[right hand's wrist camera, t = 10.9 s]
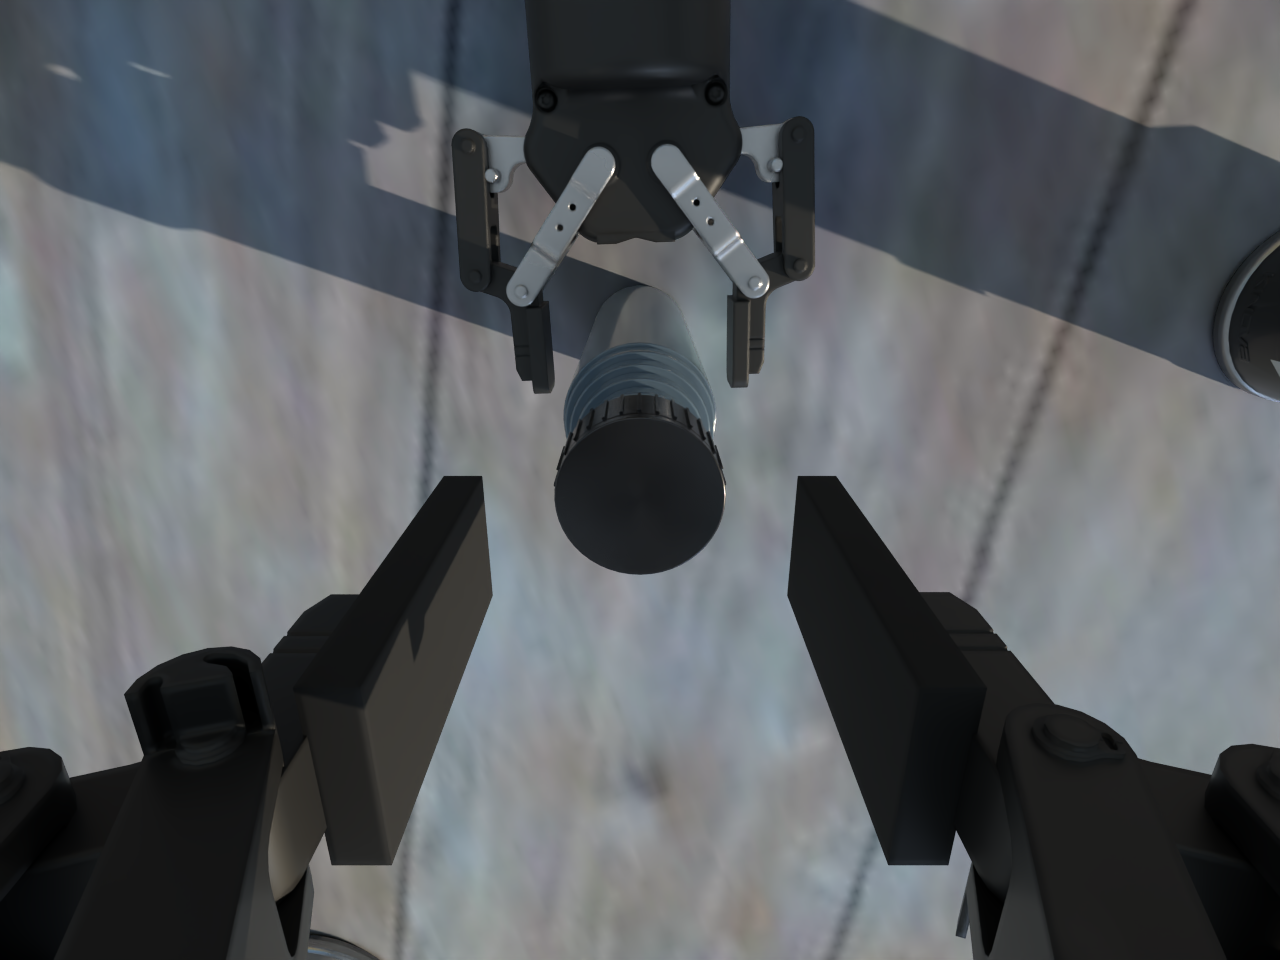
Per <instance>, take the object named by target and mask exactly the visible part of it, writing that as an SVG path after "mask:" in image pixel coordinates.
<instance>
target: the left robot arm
mask: <svg viewBox="0 0 1280 960" xmlns="http://www.w3.org/2000/svg"><path fill="white" fill-rule="evenodd" d="M525 8H526V20H527V33H528V45H529V57H530V70H531V82H532V95H533V114H532V119H531V123H530V126H529V129H528V131H527V133H526V136H501V135H483V134H481V133H479V132H476V131H474V130H472V129H467V128H465V129H461V130H459V131H458V132H456V134H455V135H454V137H453V139H452V157H453V173H454V188H455V203H456V219H457V234H458V249H459V265H460V278H461V281H462V283H463V285H464V286H465V287H466V288H467V289H469V290H471V291H474V292H479V291H480V292H484V293H487V294H490V295H493V296H496V297H498V298H500V299H502V300H503V301H504V302H505V303H506V304H507V305H508V307H509V309H510V312H511V320H512V330H513V340H514V350H515V360H516V370H517V372H518V374H519V376H520V377H521V379H522V381H532V383H533V391H534V393H535V394H541V393H551V391H552V389H553V387H554V383H555V375H554V362H553V350H552V337H551V325H550V313H549V301H543V293H542V291H543V290H544V288H545V287H546V285H547V283H548V282H549V280H550V279H551V277H552V276H553V274H554V272H555V271H556V269H557V268H558V266H559V265H560V263H561V262H562V260H563V259H564V257H565V256H566V254H567V253H568V251H569V250H570V248H571V247H572V245H573V244H574V242H575V240H576V239H577V237H578V236H579V234H581V235H582V236H583V237H585V238H587V239H588V240H591V241H593V242H597V244H617V243H620V242H623V241H626V240H629V239H632V238H641V239H645V240H649V241H653V242H675V240H676V239H679V238H681V237H683V236H684V235H686V234H687V233H689V232H690V231H691V230H692V229H693V231H694V232H695V233H696V235H697V236H698V237H699V239H700V240H701V242H702V243H703V244H704V246H705V247H706V248H707V249H708V251H709V252H710V253H711V254H712V256H713V257H714V258H715V260H716V261H717V262H718V264H719V265H720V266H721V268H722V269H723V270H724V272H725V273H726V274H727V276H728V277H729V278H730V280H731V281H732V282H733V295H727V380H728V382H729V384H730V386H731V388H740V387H748V379H749V374H758V373H759V372H760V370H761V367H762V365H763V363H764V341H765V340H764V337H765V307H766V301H767V298H768V296H769V295H770V294H771V292H772V291H774V290H775V289H777V288H779V287H781V286H783V285H786V284H788V283H791V282H793V281H802V280H805V279H807V278H808V277H809V276H810V275H811V274H812V273H813V271H814V267H815V189H814V128H813V125H812V123H811V122H810V121H809V120H808V119H807V118H805V117H801V116H798V117H794V118H790V119H788V120H786V121H785V122H783V123H780V124H771V125H762V126H752V127H743V128H739V126H738V124H737V122H736V120H735V118H734V115H733V112H732V109H731V104H730V94H729V87H730V0H525ZM740 155H745V156H747V157H749V158H750V159H751V160H752V161H753V163H754V166H755V171H756V174H757V176H758V177H759V179H760V180H762V181H764V182H767V183H772V196H773V235H774V253H772V254H769V255H767V256H764V257H762V258H760V259H756V258H755V256H754V255H753V254H752V252H751V251H750V249H749V248H748V247H747V245H746V244H745V242H744V241H743V239H742V238H741V236H740V234H739V233H738V231H737V230H736V228H735V227H734V225H733V224H732V223H731V221H730V220H729V219H728V217H727V216H726V214H725V213H724V212H723V210H722V209H721V207H720V206H719V205H718V203H717V202H716V201H715V199H714V196H715V195H716V193H717V192H718V190H719V189H720V187H721V186H722V184H723V183H724V181H725V180H726V178H727V177H728V175H729V174H730V172H731V171H732V169H733V168H734V166H735V165H736V163H737V161H738V160H739V157H740ZM524 163H527V166H528V167H529V169H530V170H531V172H532V173H533V174H534V176H535V177H536V178H537V180H538V181H539V182H540V183H541V185H542V186H543V187H544V189H545V190H546V191H547V193H548V194H549V195H550V197H551V198H552V199H553V200H554V202H555V203H556V204H555V206H554V207H553V209H552V211H551V212H550V214H549V215H548V217H547V219H546V220H545V222H544V224H543V225H542V227H541V228H540V230H539V232H538V233H537V235H536V237H535V238H534V240H533V242H532V244H531V246H530V248H529V250H528V252H527V253H526V255H525V257H524V258H523V260H522V261H521V263H520V265H519V266H518V268H517V267H513V266H510V265H507V264H504V263H501V259H500V237H499V214H498V193H503V192H505V191H507V190H508V189H509V188H510V187H511V185H512V182H513V175H514V172H515V170H516V169H517V168H518V167H519V166H520V165H522V164H524ZM1213 343H1214V350H1215V355H1216V358H1217V361H1218V363H1219V365H1220V367H1221V369H1222V371H1223V372H1224V374H1225V375H1226V376H1227V378H1228V379H1229V380H1230V381H1231V382H1232V383H1233V384H1235V385H1236V386H1237V387H1239V388H1240V389H1242V390H1244V391H1246V392H1248V393H1250V394H1253V395H1256V396H1259V397H1262V398H1265V399H1268V400H1272V401H1276V402H1280V231H1279V232H1277V233H1276V234H1274V235H1273V236H1271V237H1270V238H1269V239H1267V240H1266V241H1265V242H1264V243H1262V244H1261V245H1260V246H1259V247H1258V248H1257V249H1256V250H1255V251H1253V252H1252V254H1251V255H1250V256H1249V257H1248V258H1247V259H1246V260H1245V261H1244V262H1243V263H1242V265H1241V266H1240V267H1239V268H1238V270H1237V271H1236V273H1235V274H1234V275H1233V277H1232V278H1231V280H1230V282H1229V283H1228V285H1227V287H1226V289H1225V291H1224V293H1223V295H1222V298H1221V300H1220V302H1219V305H1218V309H1217V312H1216V316H1215V321H1214V328H1213Z"/></svg>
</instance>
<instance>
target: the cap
mask: <svg viewBox="0 0 1280 960" xmlns="http://www.w3.org/2000/svg"><path fill="white" fill-rule="evenodd" d="M722 469H723V466H722V463H721V460H720V456H719V453H718V450H717V447H716V445H714V442H713V439H712V436H711V433H710V431H708V432H707V431H706V429H705V428H704V426H703V424H702V420H701V419H700V418H698V419H697V418H696V417H695V416H694V415H693V414H692V413H691V412H690V410H689V408H687V407H686V408H684V407H682V406H681V405H679V404H677V403H675V400H673V399H671V400H668V399H665V398H662V397H658V395H657V394H655V396H652V395H641V393H638V395H628V396H624V394H623V395H621V397H618V398H615V399H612V400H609V401H608V400H605V401H604V403H603V404H601V405H599V406H598V407H596V408H595V409H593V408H591V409H590V411H589V413H588V414H587V415H586V416H585V417H584V418H583V419H582V420H581V419H579V420H578V422H577V426H576V427H575V429H574V431H573V432H570V433H569V435H568V438H567V441H566V445H565V446H564V447H563V450H562V453H561V456H560V459H559V463H558V466H557V469H556V470H558V472H557V475H556V479H555V482H554V486H555V507H556V512H557V516H558V520H559V522H560V524H561V527H562V529H563V531H564V532H565V534H566V536H567V537H568V539H569V540H570V541H571V543H572V544H573V545H574V546H575V547H576V548H577V549H578V550H579V551H580V552H581V553H582V554H583V555H584V556H586V557H587V558H588V559H590V560H591V561H593V562H595V563H597V564H598V565H600V566H603V567H605V568H607V569H610V570H613V571H617V572H621V573H627V574H638V575H642V574H654V573H659V572H663V571H667V570H670V569H673V568H675V567H677V566H680V565H682V564H683V563H685V562H687V561H689V560H690V559H692V558H693V557H694V556H695V555H697V554H698V553H699V552H700V551H701V550H702V549H703V548H704V547H705V546H706V545H707V544H708V543H709V541H710V540H711V539H712V537H713V536H714V534H715V532H716V531H717V529H718V527H719V524H720V522H721V519H722V516H723V512H724V507H725V485H726V481H725V478H724V475H723V471H722Z"/></svg>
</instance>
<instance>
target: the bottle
mask: <svg viewBox="0 0 1280 960" xmlns="http://www.w3.org/2000/svg"><path fill="white" fill-rule="evenodd" d="M638 393H641V395H652V396H655V394H657V395H658V397H662V398H665V399H668V400H671V399H673V400H675V403H677V404H679V405H681V406H682V407H684V408H686V407H687V408H689V410H690V412H691V413H692V414H693V415H694V416H695V417H696V418H697V419H698V418H700V419H701V420H702V424H703V426H704V428H705V429H706V431H707V432H708V431H710V433H711V436H712V439H713V438H714V433H715V428H716V405H715V399H714V396H713V393H712V390H711V387H710V385H709V382H708V379H707V377H706V374H705V371H704V369H703V366H702V364H701V361H700V358H699V356H698V353H697V350H696V348H695V345H694V343H693V340H692V337H691V335H690V332H689V329H688V327H687V324H686V322H685V319H684V316H683V314H682V312H681V310H680V308H679V306H678V305H677V303H676V302H675V301H674V300H673V299H672V298H671V297H670V296H669V295H667V294H666V293H664V292H663V291H661V290H659V289H656V288H654V287H650V286H642V285H638V286H630V287H626V288H624V289H621V290H619V291H617V292H616V293H614V294H613V295H611V296H610V297H609V298H608V299H607V300H606V301H605V302H604V303H603V305H602V306H601V308H600V310H599V312H598V314H597V316H596V319H595V321H594V324H593V327H592V329H591V332H590V335H589V337H588V340H587V343H586V345H585V348H584V350H583V353H582V356H581V358H580V361H579V364H578V366H577V369H576V371H575V374H574V377H573V379H572V382H571V385H570V387H569V390H568V393H567V396H566V400H565V405H564V427H565V433H566V438H568V435H569V433H570V432H573V431H574V429H575V427H576V426H577V422H578V420H579V419H581V420H582V419H583V418H584V417H585V416H586V415H587V414H588V413H589V411H590V409H591V408H593V409H595V408H596V407H598V406H599V405H601V404H603V403H604V401H605V400H608V401H609V400H612V399H615V398H618V397H621V395H623V394H624V396H628V395H638Z"/></svg>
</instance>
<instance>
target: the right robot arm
mask: <svg viewBox="0 0 1280 960" xmlns="http://www.w3.org/2000/svg"><path fill="white" fill-rule="evenodd" d="M492 596H493V594H492V582H491V571H490V560H489V548H488V537H487V526H486V514H485V503H484V492H483V480H482V476H444V477H443V478H442V480H441V481H440V482H439V484H438V485H437V487H436V488H435V489H434V491H433V492H432V494H431V495H430V496H429V498H428V499H427V501H426V502H425V503H424V505H423V506H422V508H421V509H420V510H419V512H418V513H417V515H416V516H415V517H414V519H413V520H412V522H411V523H410V524H409V526H408V527H407V529H406V530H405V531H404V533H403V534H402V536H401V537H400V538H399V540H398V541H397V543H396V544H395V545H394V547H393V548H392V550H391V551H390V552H389V554H388V555H387V557H386V558H385V559H384V561H383V562H382V564H381V565H380V566H379V568H378V569H377V571H376V572H375V573H374V575H373V576H372V578H371V579H370V580H369V582H368V583H367V585H366V586H365V587H364V589H363V590H362V592H361V593H360V594H331V595H329V596H328V597H326V598H325V599H323V600H322V601H320V602H318V603H317V604H315V605H314V606H312V607H311V608H309V609H308V610H306V611H304V612H303V614H302V615H301V616H300V617H299V618H298V620H297V621H296V622H295V623H294V625H293V626H292V627H291V628H290V629H289V631H288V632H287V636H284V637H283V638H282V639H281V640H280V642H279V643H278V644H277V645H276V647H275V648H274V651H273V653H270V654H269V655H268V656H267V657H266V659H265V660H264V661H263V662H262V664H261V660H260V658H259V657H258V656H257V655H255V654H254V653H253V652H251V651H250V650H247V649H242V648H236V647H218V648H207V649H203V650H199V651H195V652H191V653H187V654H183V655H180V656H178V657H176V658H174V659H171V660H169V661H167V662H164V663H162V664H160V665H157V666H156V667H154V668H153V669H151V670H150V671H149V672H147V673H146V674H144V675H143V676H141V677H140V678H138V679H137V680H136V681H135V682H134V683H133V684H132V686H131V687H130V688H129V689H128V690H127V691H126V693H125V694H124V696H125V699H126V702H127V705H128V708H129V711H130V714H131V717H132V720H133V723H134V726H135V729H136V732H137V735H138V739H139V742H140V745H141V748H142V751H143V754H144V757H143V759H142V761H141V762H138V763H135V764H131V765H127V766H122V767H117V768H113V769H108V770H104V771H99V772H94V773H90V774H85V775H81V776H76V777H71V778H69V776H68V773H67V771H66V768H65V765H64V763H63V760H62V758H61V757H60V756H59V755H58V754H56V753H55V752H53V751H52V750H51V749H46V748H35V747H26V748H20V749H14V750H8V751H2V752H0V960H379V959H378V958H376V957H375V956H373V955H372V954H370V953H368V952H367V951H365V950H363V949H361V948H358V947H356V946H354V945H351V944H349V943H346V942H343V941H340V940H336V939H333V938H328V937H323V936H317V935H309V934H310V925H311V916H312V907H313V897H314V888H313V882H312V876H311V872H310V867H309V862H310V860H311V858H312V856H313V854H314V852H315V850H316V848H317V846H318V844H319V842H320V840H321V838H322V836H323V834H324V832H325V837H326V842H327V846H328V851H329V855H330V860H331V864H332V865H392V863H393V860H394V858H395V855H396V852H397V850H398V847H399V844H400V842H401V839H402V836H403V834H404V831H405V828H406V826H407V823H408V820H409V818H410V815H411V812H412V810H413V807H414V804H415V801H416V799H417V796H418V793H419V791H420V788H421V785H422V783H423V780H424V777H425V775H426V772H427V769H428V767H429V764H430V761H431V759H432V756H433V753H434V751H435V748H436V745H437V743H438V740H439V737H440V735H441V732H442V729H443V727H444V724H445V721H446V719H447V716H448V713H449V711H450V708H451V705H452V703H453V700H454V697H455V695H456V692H457V689H458V687H459V684H460V681H461V679H462V676H463V673H464V671H465V668H466V665H467V663H468V660H469V657H470V655H471V652H472V649H473V647H474V644H475V641H476V639H477V636H478V633H479V631H480V628H481V625H482V623H483V620H484V617H485V615H486V612H487V609H488V607H489V604H490V601H491V598H492ZM787 596H788V599H789V601H790V604H791V607H792V609H793V612H794V615H795V617H796V620H797V623H798V625H799V628H800V631H801V633H802V636H803V639H804V641H805V644H806V647H807V649H808V652H809V655H810V657H811V660H812V663H813V665H814V668H815V671H816V673H817V676H818V679H819V681H820V684H821V687H822V689H823V692H824V695H825V697H826V700H827V703H828V705H829V708H830V711H831V713H832V716H833V719H834V721H835V724H836V727H837V729H838V732H839V735H840V737H841V740H842V743H843V745H844V748H845V751H846V753H847V756H848V759H849V761H850V764H851V767H852V769H853V772H854V775H855V777H856V780H857V783H858V785H859V788H860V791H861V793H862V796H863V799H864V802H865V804H866V807H867V810H868V812H869V815H870V818H871V820H872V823H873V826H874V828H875V831H876V834H877V836H878V839H879V842H880V844H881V847H882V850H883V852H884V855H885V858H886V860H887V863H888V865H948V864H949V860H950V855H951V851H952V846H953V842H954V837H955V832H956V831H957V833H958V835H959V837H960V839H961V841H962V843H963V845H964V847H965V849H966V851H967V853H968V855H969V857H970V859H971V861H972V863H971V867H970V872H969V876H968V880H967V884H966V889H965V893H964V897H963V901H962V905H961V910H960V914H959V918H958V924H957V930H956V936H958V937H962V938H966V934H967V930H968V926H969V923H970V932H971V942H972V951H973V960H1280V748H1274V747H1268V746H1262V745H1256V744H1245V745H1234V746H1230V747H1229V748H1228V749H1226V750H1225V751H1223V752H1222V753H1221V754H1220V755H1219V758H1218V760H1217V763H1216V765H1215V768H1214V771H1213V773H1212V775H1209V774H1205V773H1200V772H1196V771H1191V770H1186V769H1182V768H1177V767H1172V766H1168V765H1163V764H1159V763H1154V762H1150V761H1146V760H1142V759H1139V758H1137V755H1136V754H1135V752H1134V751H1133V750H1132V748H1131V747H1130V745H1129V744H1128V743H1127V741H1126V740H1125V739H1124V738H1123V737H1122V736H1121V735H1119V734H1118V733H1117V732H1115V731H1114V730H1113V729H1112V728H1110V727H1109V726H1108V725H1106V724H1105V723H1103V722H1101V721H1099V720H1097V719H1095V718H1093V717H1091V716H1089V715H1087V714H1085V713H1083V712H1081V711H1077V710H1074V709H1070V708H1067V707H1063V706H1060V705H1055V704H1054V703H1053V702H1052V700H1051V699H1050V698H1049V697H1048V695H1047V694H1046V693H1045V692H1044V691H1043V689H1042V688H1041V687H1040V686H1039V685H1038V683H1037V682H1036V681H1035V680H1034V679H1033V677H1032V676H1031V675H1030V674H1029V672H1028V671H1027V670H1026V669H1025V668H1024V666H1023V665H1022V664H1021V663H1020V662H1019V660H1018V659H1017V658H1016V657H1015V656H1014V654H1013V653H1012V652H1011V651H1007V646H1006V645H1005V643H1004V642H1003V641H1002V640H1001V639H1000V637H999V636H998V635H997V634H994V633H993V629H992V628H991V626H990V625H989V624H988V623H987V622H986V620H985V619H984V618H983V617H982V616H981V614H980V613H979V612H978V611H977V610H976V609H975V608H973V607H972V606H970V605H969V604H967V603H966V602H964V601H962V600H961V599H959V598H958V597H956V596H955V595H953V594H951V593H950V592H918V590H917V589H916V587H915V586H914V585H913V583H912V582H911V580H910V579H909V578H908V576H907V575H906V573H905V572H904V571H903V569H902V568H901V566H900V565H899V564H898V562H897V561H896V559H895V558H894V557H893V555H892V554H891V552H890V551H889V550H888V548H887V547H886V545H885V544H884V543H883V541H882V540H881V538H880V537H879V536H878V534H877V533H876V531H875V530H874V529H873V527H872V526H871V524H870V523H869V522H868V520H867V519H866V517H865V516H864V515H863V513H862V512H861V510H860V509H859V508H858V506H857V505H856V503H855V502H854V501H853V499H852V498H851V496H850V495H849V494H848V492H847V491H846V489H845V488H844V487H843V485H842V484H841V482H840V481H839V480H838V478H837V477H836V476H798V480H797V492H796V503H795V514H794V526H793V537H792V548H791V560H790V571H789V582H788V594H787Z"/></svg>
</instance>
